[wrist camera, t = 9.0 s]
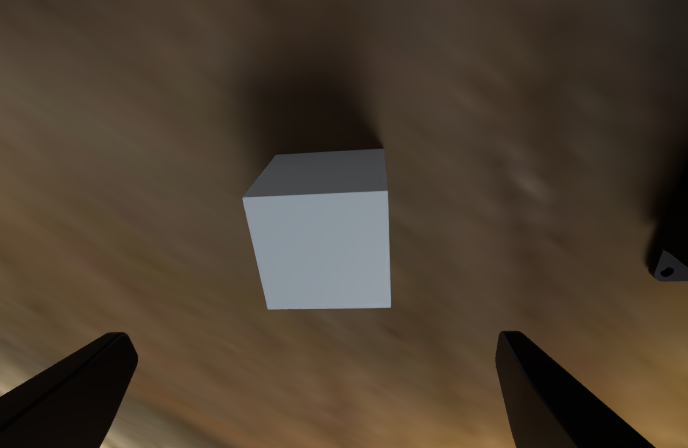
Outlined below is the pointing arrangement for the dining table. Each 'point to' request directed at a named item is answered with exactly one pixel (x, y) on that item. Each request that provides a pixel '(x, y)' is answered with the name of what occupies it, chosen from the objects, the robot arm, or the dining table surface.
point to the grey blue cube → (322, 230)
